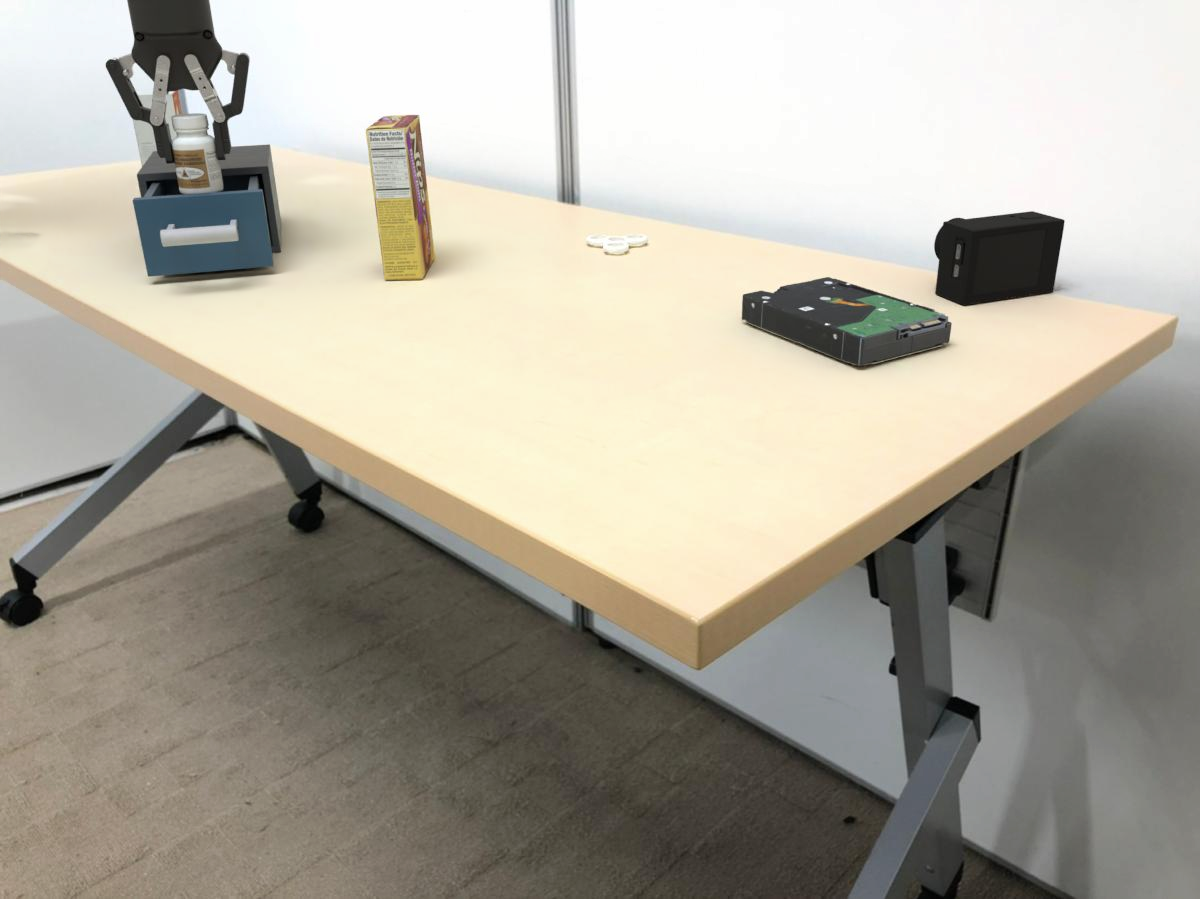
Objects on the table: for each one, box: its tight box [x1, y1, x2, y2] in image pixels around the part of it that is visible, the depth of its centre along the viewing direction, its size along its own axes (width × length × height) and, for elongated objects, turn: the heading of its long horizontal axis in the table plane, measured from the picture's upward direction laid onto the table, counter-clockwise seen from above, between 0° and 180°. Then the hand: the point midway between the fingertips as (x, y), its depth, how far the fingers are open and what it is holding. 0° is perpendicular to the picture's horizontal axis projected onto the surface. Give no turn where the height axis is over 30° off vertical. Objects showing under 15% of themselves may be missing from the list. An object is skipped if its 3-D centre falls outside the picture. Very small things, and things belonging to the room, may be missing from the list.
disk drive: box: [741, 276, 953, 367], centre depth 90 cm, size 10×3×15 cm
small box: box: [132, 89, 183, 167], centre depth 162 cm, size 8×6×13 cm
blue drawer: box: [132, 174, 274, 278], centre depth 113 cm, size 21×12×8 cm, turn 15°
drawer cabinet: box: [136, 144, 282, 253], centre depth 124 cm, size 17×14×10 cm
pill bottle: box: [171, 113, 224, 194], centre depth 110 cm, size 4×4×8 cm
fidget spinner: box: [585, 233, 649, 254], centre depth 120 cm, size 7×6×1 cm
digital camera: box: [933, 210, 1066, 306], centre depth 99 cm, size 10×5×7 cm, turn 111°
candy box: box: [365, 114, 436, 281], centre depth 109 cm, size 9×4×15 cm, turn 0°
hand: (196, 159), depth 110 cm, fingers closed on pill bottle, 4 cm apart
